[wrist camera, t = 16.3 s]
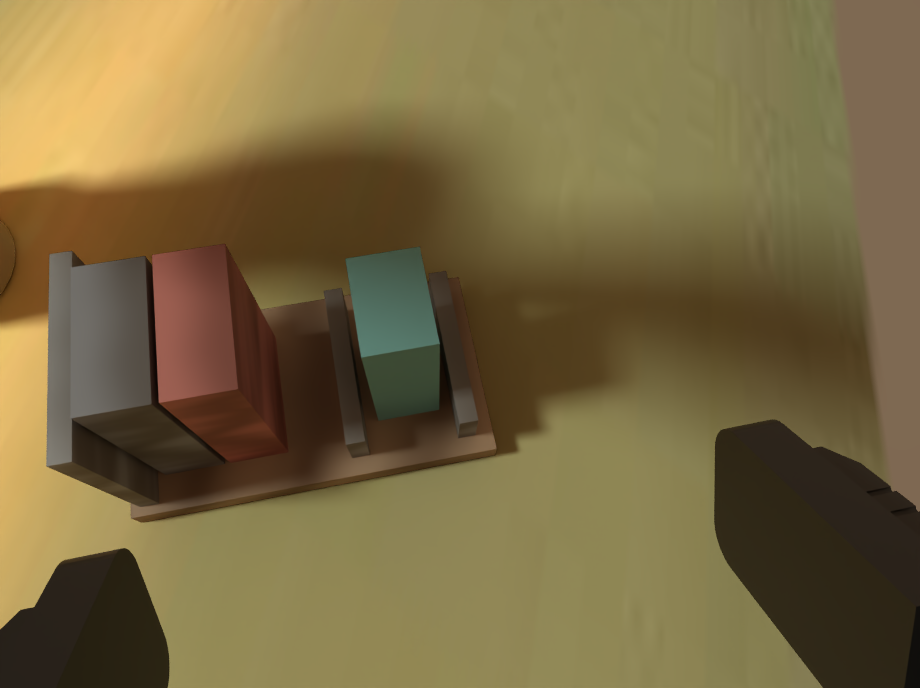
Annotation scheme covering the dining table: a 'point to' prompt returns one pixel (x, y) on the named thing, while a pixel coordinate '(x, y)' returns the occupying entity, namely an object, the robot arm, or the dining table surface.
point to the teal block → (396, 331)
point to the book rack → (233, 387)
